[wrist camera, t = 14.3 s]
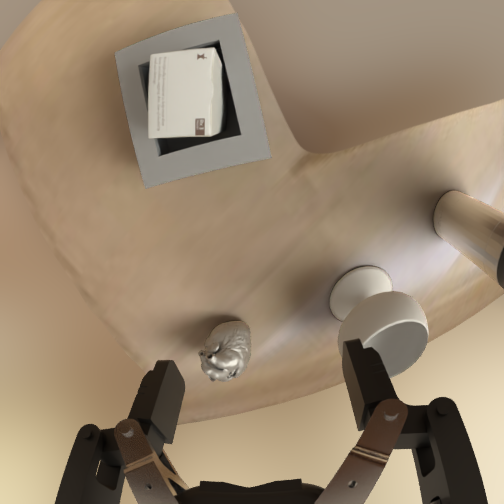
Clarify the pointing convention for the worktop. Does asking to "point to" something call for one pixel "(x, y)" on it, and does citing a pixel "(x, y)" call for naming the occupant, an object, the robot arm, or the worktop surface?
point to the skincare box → (186, 94)
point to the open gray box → (238, 104)
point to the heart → (226, 351)
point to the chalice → (379, 318)
